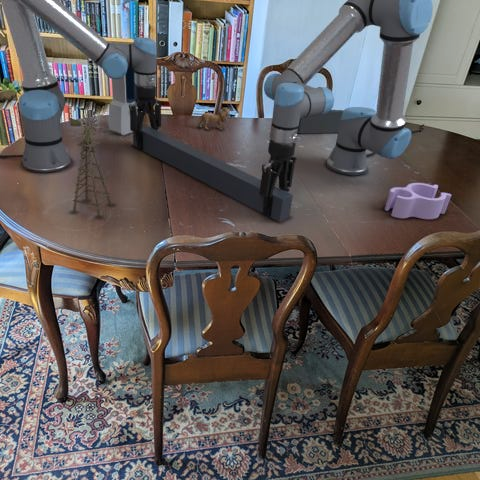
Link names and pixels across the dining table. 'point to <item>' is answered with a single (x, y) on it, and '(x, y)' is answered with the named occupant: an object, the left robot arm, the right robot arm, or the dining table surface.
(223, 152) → the dining table surface
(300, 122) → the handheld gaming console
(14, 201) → the dining table surface
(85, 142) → the miniature windmill
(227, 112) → the lion figurine
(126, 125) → the electronic device
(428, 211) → the clip
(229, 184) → the post
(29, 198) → the dining table surface
